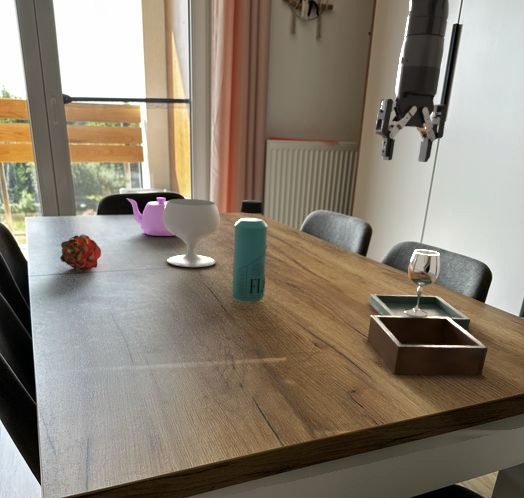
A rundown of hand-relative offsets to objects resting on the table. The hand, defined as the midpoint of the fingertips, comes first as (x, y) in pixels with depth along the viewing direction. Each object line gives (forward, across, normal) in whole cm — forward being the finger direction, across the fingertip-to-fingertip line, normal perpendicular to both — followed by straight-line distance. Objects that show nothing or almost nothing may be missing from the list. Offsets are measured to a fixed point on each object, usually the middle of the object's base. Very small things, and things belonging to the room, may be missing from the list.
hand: (405, 160), depth 100 cm
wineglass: (+28, 0, -11) cm, 30 cm away
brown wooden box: (+28, -13, -28) cm, 42 cm away
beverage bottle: (+28, -30, +3) cm, 42 cm away
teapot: (+28, -32, +78) cm, 89 cm away
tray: (+28, 0, -11) cm, 30 cm away
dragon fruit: (+28, -59, +37) cm, 75 cm away
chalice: (+28, -32, +38) cm, 57 cm away
